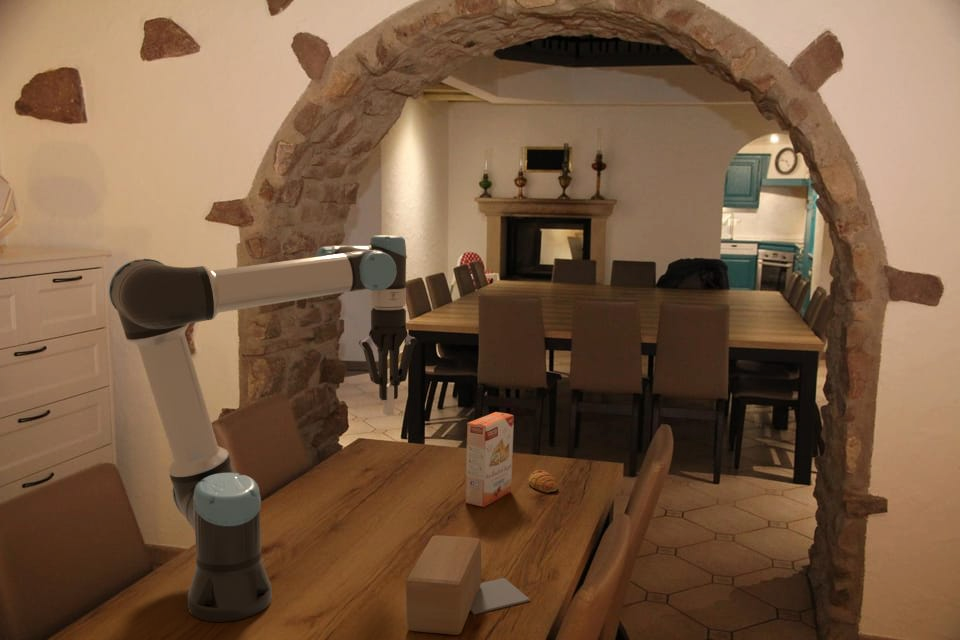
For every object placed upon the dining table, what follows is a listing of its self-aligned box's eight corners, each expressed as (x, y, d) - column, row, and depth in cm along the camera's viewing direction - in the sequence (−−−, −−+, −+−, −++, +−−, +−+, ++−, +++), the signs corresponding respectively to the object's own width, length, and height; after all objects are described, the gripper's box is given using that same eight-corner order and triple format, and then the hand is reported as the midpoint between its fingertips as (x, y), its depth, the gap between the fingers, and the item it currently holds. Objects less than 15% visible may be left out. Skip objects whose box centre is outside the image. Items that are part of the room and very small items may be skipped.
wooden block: (482, 584, 167) (461, 637, 148) (433, 580, 169) (405, 632, 150) (481, 536, 165) (460, 583, 146) (432, 532, 167) (404, 579, 148)
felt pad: (473, 614, 156) (473, 612, 156) (450, 591, 165) (450, 589, 165) (529, 601, 162) (529, 599, 162) (504, 579, 171) (504, 577, 171)
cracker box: (484, 508, 209) (486, 426, 206) (464, 503, 212) (465, 422, 209) (513, 492, 220) (515, 413, 217) (493, 487, 224) (494, 410, 220)
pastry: (564, 492, 222) (564, 478, 221) (541, 495, 219) (541, 481, 218) (547, 481, 230) (547, 467, 230) (525, 484, 227) (525, 470, 227)
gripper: (365, 311, 177) (366, 421, 180) (423, 308, 183) (422, 414, 186) (353, 306, 183) (354, 413, 187) (409, 303, 189) (409, 406, 193)
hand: (388, 413), depth 187 cm, fingers closed
